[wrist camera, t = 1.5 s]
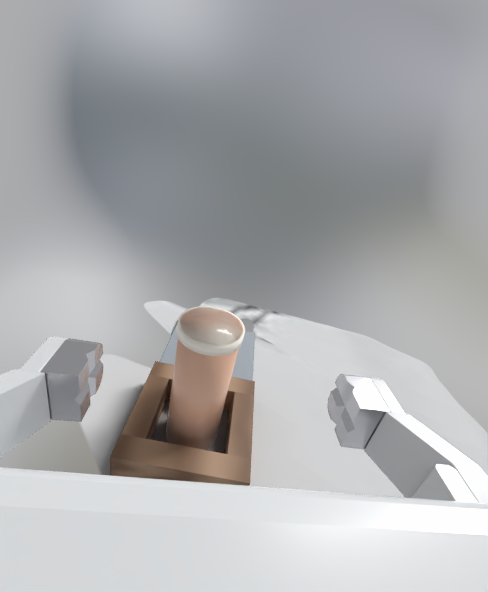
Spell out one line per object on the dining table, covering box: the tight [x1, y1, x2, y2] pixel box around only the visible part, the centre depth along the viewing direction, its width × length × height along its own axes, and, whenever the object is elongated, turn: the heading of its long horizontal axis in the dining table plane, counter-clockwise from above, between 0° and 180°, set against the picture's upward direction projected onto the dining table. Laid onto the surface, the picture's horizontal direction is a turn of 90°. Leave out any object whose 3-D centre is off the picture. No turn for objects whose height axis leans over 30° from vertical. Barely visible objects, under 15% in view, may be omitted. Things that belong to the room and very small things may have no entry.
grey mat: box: [160, 322, 255, 381], centre depth 51 cm, size 14×12×1 cm
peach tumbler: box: [166, 306, 245, 450], centre depth 34 cm, size 9×6×16 cm
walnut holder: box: [110, 362, 255, 486], centre depth 36 cm, size 14×14×4 cm
